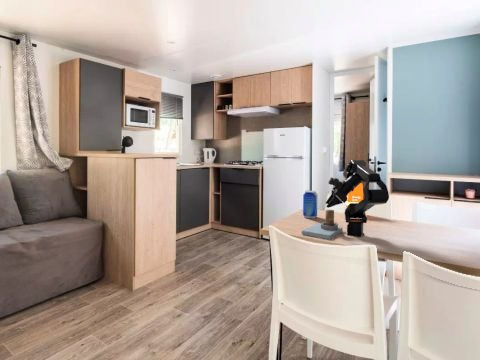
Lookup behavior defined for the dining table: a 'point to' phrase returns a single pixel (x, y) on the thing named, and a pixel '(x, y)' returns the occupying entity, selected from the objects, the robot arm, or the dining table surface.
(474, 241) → the dining table surface
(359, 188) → the orange juice
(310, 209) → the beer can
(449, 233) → the dining table surface
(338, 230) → the slate board
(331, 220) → the walnut peg
